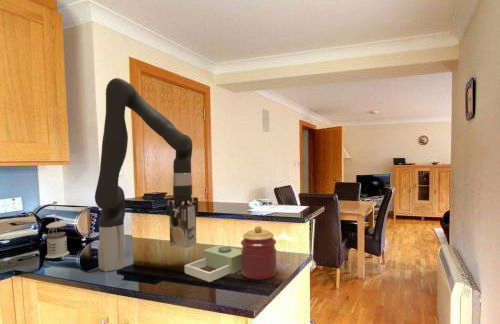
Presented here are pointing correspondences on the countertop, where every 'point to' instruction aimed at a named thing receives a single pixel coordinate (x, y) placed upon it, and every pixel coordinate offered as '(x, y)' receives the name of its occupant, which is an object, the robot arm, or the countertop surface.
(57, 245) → the french press
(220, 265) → the dome button panel
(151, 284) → the countertop surface
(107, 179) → the robot arm
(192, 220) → the coffee box
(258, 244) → the canister
